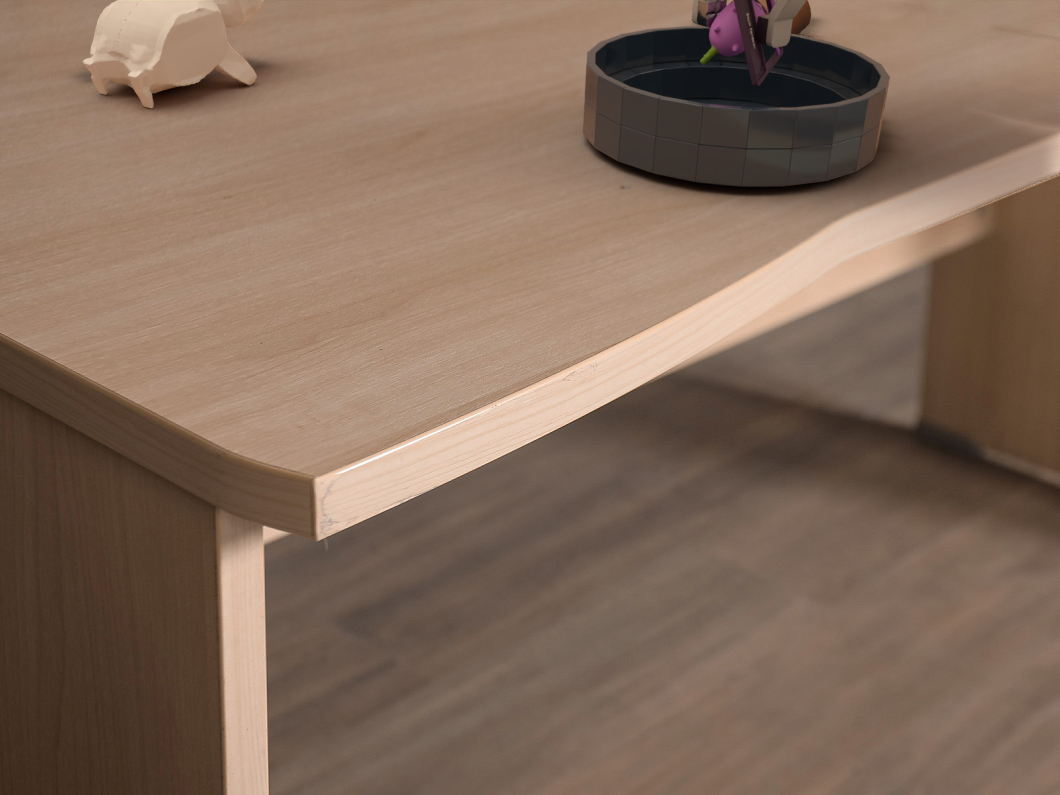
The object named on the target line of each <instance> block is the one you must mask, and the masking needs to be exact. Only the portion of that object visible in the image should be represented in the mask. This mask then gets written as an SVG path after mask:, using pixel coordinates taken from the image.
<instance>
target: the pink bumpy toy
mask: <svg viewBox="0 0 1060 795" xmlns="http://www.w3.org/2000/svg"><path fill="white" fill-rule="evenodd" d="M775 2H776V0H775V1H774V0H766V4H767V8H768V9H765V8H764V6H763V5H762V4H761V3H760V2H759V1H758V0H732V1H730V2H728V4H727V5H726V7H725V8H724V9H723V10H722V11H721V12H720V13H719V14H718V15H717V17H716V18H715V20H714V21H713V23H712V25H711V28H710V32H709V39H710V43H711V45H712V47H711V49H710V50H709V51H708V53H707V54H705V55H704V57H703V58H702V59H701V60H700V62H701V64H703V65H704V64H706V63H707V62H708V61H709V62H710V59H711V58H712V57H714V56H715V55H716V54H718V53H719V54H721V55H724V56H735V55H738V54H740V53H742V52H744V51H745V55H746V59H747V64H748V68H749V73H750V77H751V82H752V86H753V87H757V86H759V85H760V84H761V83H762V81H763V80H764V79H765V77H766V76H767V75H768V73H769V72H770V71H771V69H772V68H773V67H774V65H775V64H776V63H777V61H778V60H779V59H780V57H781V56H782V55H783V47H777V48H776V51H775V52H774V54H773V55H772V56H771V58H770V59H769V60H768V62H767V63H765V58H764V53H763V49H762V44H760V43H757V41H756V39H755V35H756V32H757V31H758V30H757V27H756V26H757V19H758V16H762V15H766V14H767V15H768V13H769V14H770V12H771V10H772V8H773V6H774V5H775ZM767 12H768V13H767Z"/></svg>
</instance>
